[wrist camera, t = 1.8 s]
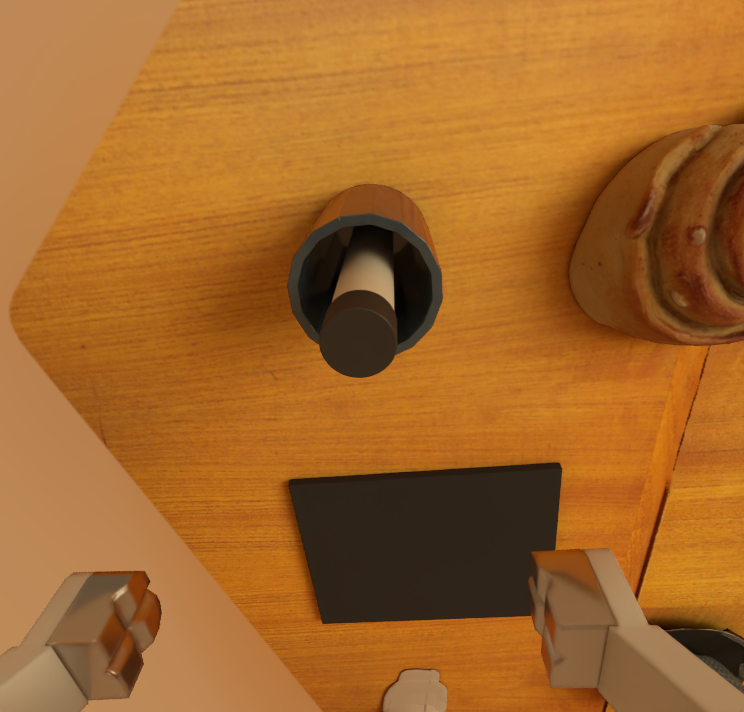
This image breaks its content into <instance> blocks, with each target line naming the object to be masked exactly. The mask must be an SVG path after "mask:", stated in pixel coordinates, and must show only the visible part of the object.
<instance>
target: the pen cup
mask: <svg viewBox="0 0 744 712" xmlns="http://www.w3.org/2000/svg"><path fill="white" fill-rule="evenodd" d="M365 225H374V226H378V227H381V228H384V229H385V230H386V231H387V232H388V233H389V234H390V236H391V238H392V241H393V257H394V312H395V314H396V318H397V343H398V345H397V351H396V354H395V355H397V354H399V353H401V352H403V351H405V350H407V349H410V348H412V347H413V346H414V345H415V344H416V343H417V342H418V341H419V340H420V339H421V338H422V337H423V336H424V335H425V334H426V333H427V332H428V331H429V330H430V329H431V328H432V326H433V324H434V321H435V319H436V316H437V314H438V311H439V308H440V306H441V303H442V299H443V293H442V272H441V268H440V265H439V261H438V258H437V254H436V251H435V248H434V244H433V241H432V237H431V234H430V231H429V228H428V226H427V224H426V222H425V219H424V217H423V215H422V213H421V211H420V209H419V208H418V207H417V206H416V205H415V203H414V202H413V201H412V200H411V199H410V198H408V197H407V196H406V195H404V194H403V193H401V192H399V191H398V190H396V189H393V188H391V187H388V186H384V185H377V184H364V185H359V186H355V187H352V188H349V189H347V190H345V191H343V192H341V193H340V194H338V195H337V196H335V197H334V198H333V199H332V200H330V202H329V203H328V204H327V206H326V207H325V208H324V210H323V211H322V212H321V214H320V215H319V216H318V218H317V219H316V221H315V223H314V224H313V226H312V227H311V229H310V231H309V232H308V234H307V236H306V237H305V239H304V240H303V242H302V244H301V245H300V247H299V248H298V250H297V252H296V253H295V255H294V257H293V260H292V265H291V269H290V274H289V279H288V283H287V285H288V286H287V287H288V292H289V297H290V302H291V307H292V312H293V315H294V316H295V318H296V319H297V321H298V322H299V324H300V325H301V327H302V328H303V330H304V331H305V333H306V334H307V336H308V337H309V338H310V339H312V340H313V341H315V342H316V343H317V344H319V336H320V332H321V328H322V325H323V322H324V318H325V315H326V312H327V309H328V308H329V306H330V304H331V303H332V300H333V296H334V293H335V290H336V286H337V283H338V279H339V276H340V272H341V269H342V266H343V262H344V259H345V255H346V252H347V248H348V245H349V242H350V239H351V236H352V235H353V233H354V232H355V231H356V230H357V229H358V228H360V227H362V226H365Z"/></svg>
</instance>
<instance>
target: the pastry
mask: <svg viewBox="0 0 744 712" xmlns="http://www.w3.org/2000/svg"><path fill="white" fill-rule="evenodd" d="M569 279H570V285H571V288H572V291H573V294H574V297H575V298H576V300H577V302H578V304H579V306H580V307H581V308H582V310H583V311H584V312H585V313H586V314H587V315H588V316H589V317H590V318H591V319H593V320H594V321H596V322H598V323H600V324H603V325H607V326H611V327H613V328H615V329H617V330H619V331H621V332H623V333H625V334H627V335H630V336H633V337H636V338H640V339H643V340H647V341H651V342H655V343H661V344H671V345H693V346H703V345H718V344H730V343H734V342H738V341H743V340H744V124H731V125H728V126H725V127H722V126H719V125H705V126H702V127H699V128H695V129H689V130H684V131H679V132H676V133H674V134H671V135H669V136H666V137H663V138H662V139H660V140H659V141H657V142H655V143H654V144H652V145H651V146H649V147H648V148H646V149H645V150H643V151H642V152H640V153H639V154H638V155H637V156H635V157H634V158H633V159H632V160H630V161H629V162H628V163H627V164H626V165H625V166H624V167H623V168H622V169H621V170H620V171H619V172H618V173H617V174H616V176H615V177H614V178H613V179H612V181H611V182H610V183H609V184H608V185H607V187H606V188H605V189H604V190H603V192H602V193H601V194H600V196H599V197H598V199H597V200H596V202H595V204H594V206H593V208H592V210H591V212H590V215H589V217H588V219H587V222H586V224H585V226H584V228H583V230H582V233H581V235H580V237H579V239H578V241H577V244H576V247H575V249H574V252H573V255H572V258H571V262H570V266H569Z"/></svg>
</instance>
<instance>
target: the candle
mask: <svg viewBox="0 0 744 712" xmlns="http://www.w3.org/2000/svg"><path fill="white" fill-rule="evenodd" d="M439 678H440V676H439V673H438V672H437V671H436V670H433V669H432V670H430V671H429V670H417V669H415V670H406V671H404V672H402V673H401V675H400V677H399V679H398V682H396V683H395V684H393V685H392V686H391V687H390V688H388V690H387V692H386V694H385V696H384V701H383V712H445V710H446V705H447V689H446V688H445V686H444V685H443V684H442V683H440V682H439Z"/></svg>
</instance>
